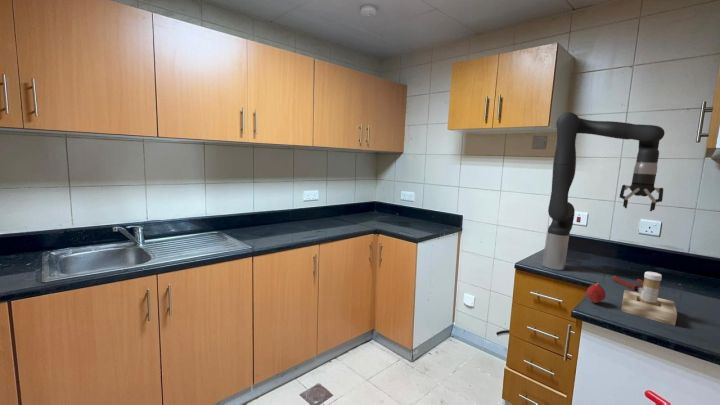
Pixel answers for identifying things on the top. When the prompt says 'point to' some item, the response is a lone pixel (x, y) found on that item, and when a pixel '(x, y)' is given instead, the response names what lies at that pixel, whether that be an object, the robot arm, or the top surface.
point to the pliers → (629, 284)
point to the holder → (649, 308)
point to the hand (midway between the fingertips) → (638, 209)
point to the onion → (596, 293)
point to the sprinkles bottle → (650, 288)
